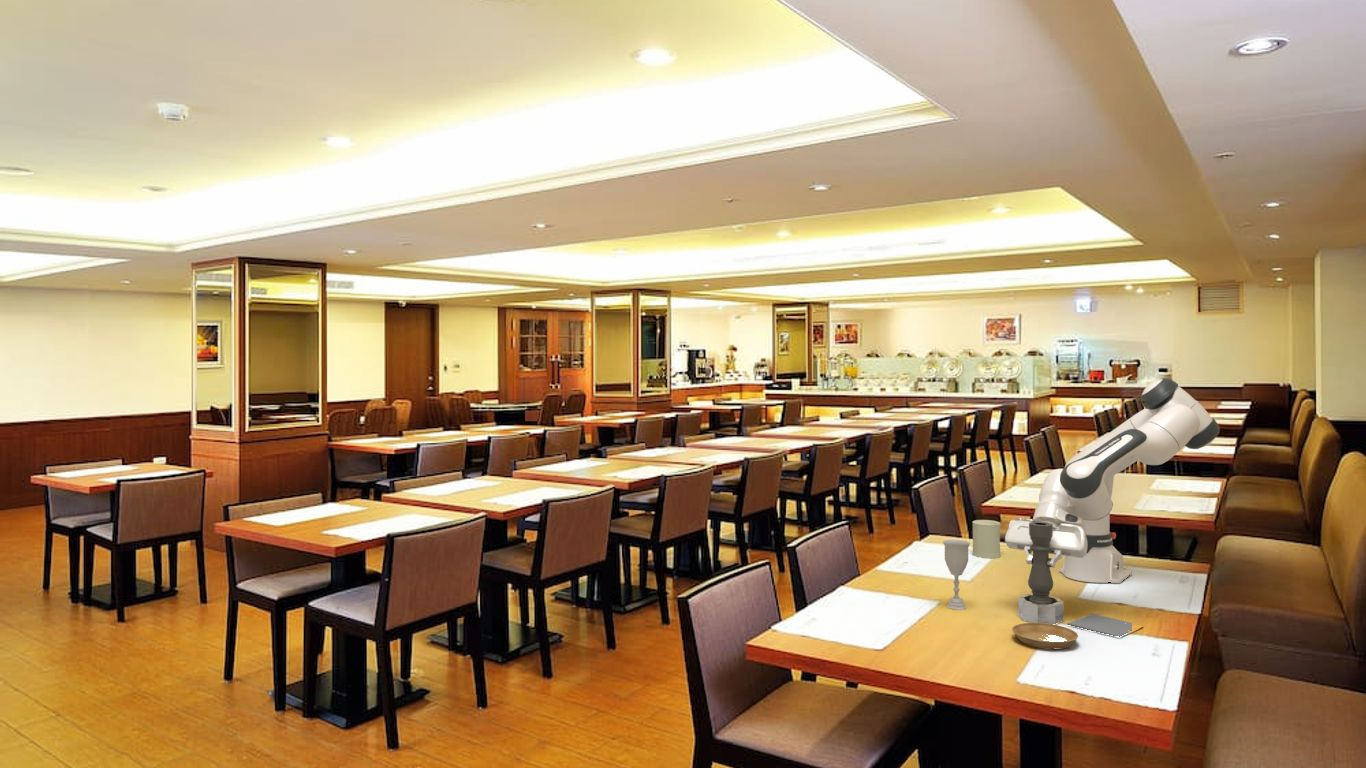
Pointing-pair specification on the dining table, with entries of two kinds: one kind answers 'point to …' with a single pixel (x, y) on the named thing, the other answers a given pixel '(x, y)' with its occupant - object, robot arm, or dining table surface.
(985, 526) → the can
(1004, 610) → the dining table surface
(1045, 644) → the plant saucer
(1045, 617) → the steel collar
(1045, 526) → the candle holder
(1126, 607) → the dining table surface
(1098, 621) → the slate mat
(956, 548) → the chalice
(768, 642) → the dining table surface
